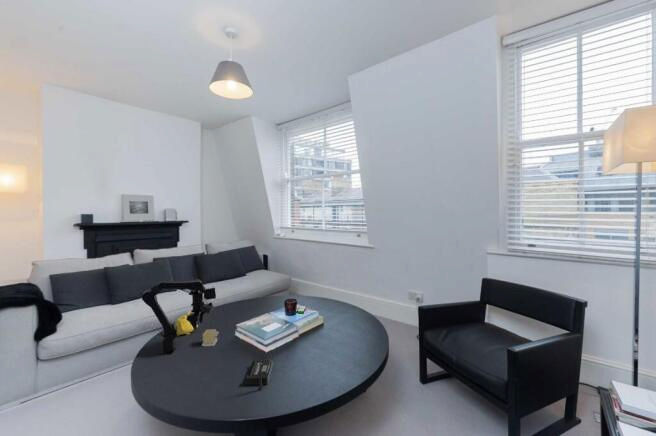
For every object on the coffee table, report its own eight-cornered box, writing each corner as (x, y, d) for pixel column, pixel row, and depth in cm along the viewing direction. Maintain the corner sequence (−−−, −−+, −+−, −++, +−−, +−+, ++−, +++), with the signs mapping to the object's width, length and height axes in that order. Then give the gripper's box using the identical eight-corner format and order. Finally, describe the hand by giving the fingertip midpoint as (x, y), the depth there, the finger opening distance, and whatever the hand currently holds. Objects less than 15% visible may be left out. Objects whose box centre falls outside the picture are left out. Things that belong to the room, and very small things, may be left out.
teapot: (193, 338, 182) (192, 321, 182) (168, 340, 180) (168, 322, 179) (202, 325, 202) (201, 309, 201) (180, 327, 200) (179, 311, 199)
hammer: (213, 346, 172) (213, 338, 172) (202, 346, 172) (201, 339, 172) (222, 333, 189) (221, 326, 189) (211, 333, 189) (211, 327, 189)
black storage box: (249, 367, 150) (249, 335, 149) (276, 366, 151) (275, 334, 150) (239, 392, 130) (238, 355, 129) (269, 391, 131) (269, 355, 130)
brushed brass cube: (213, 343, 173) (212, 333, 172) (203, 343, 172) (202, 334, 172) (216, 338, 179) (216, 329, 178) (206, 339, 178) (206, 329, 178)
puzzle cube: (306, 319, 211) (306, 306, 211) (304, 325, 201) (303, 311, 201) (293, 319, 212) (293, 305, 212) (290, 324, 202) (290, 310, 202)
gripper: (205, 305, 163) (206, 332, 164) (216, 295, 182) (216, 319, 183) (185, 306, 162) (186, 333, 163) (198, 296, 181) (198, 320, 182)
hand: (198, 326), depth 173 cm, fingers open, 9 cm apart
